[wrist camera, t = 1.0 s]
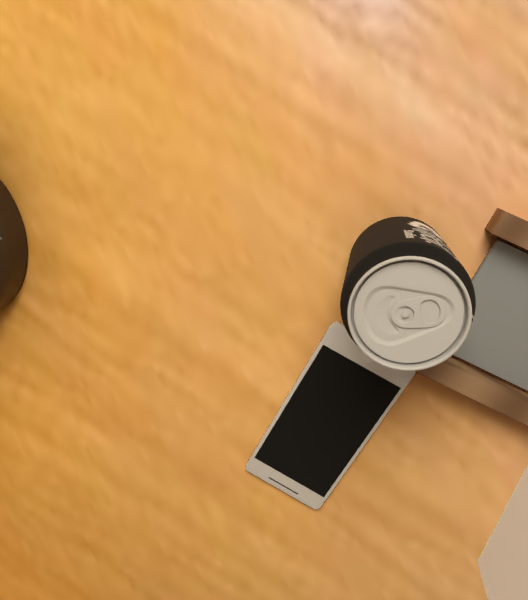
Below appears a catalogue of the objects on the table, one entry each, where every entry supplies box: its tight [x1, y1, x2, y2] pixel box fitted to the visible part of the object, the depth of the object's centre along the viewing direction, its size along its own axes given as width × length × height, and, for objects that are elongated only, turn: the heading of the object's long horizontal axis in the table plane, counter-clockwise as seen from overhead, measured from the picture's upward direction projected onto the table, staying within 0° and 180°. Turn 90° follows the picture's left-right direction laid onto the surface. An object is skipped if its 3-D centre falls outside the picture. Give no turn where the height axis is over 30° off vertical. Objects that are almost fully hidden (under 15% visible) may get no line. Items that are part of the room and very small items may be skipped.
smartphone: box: [246, 321, 416, 510], centre depth 39 cm, size 7×16×1 cm, turn 153°
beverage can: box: [340, 217, 476, 371], centre depth 29 cm, size 7×7×12 cm
